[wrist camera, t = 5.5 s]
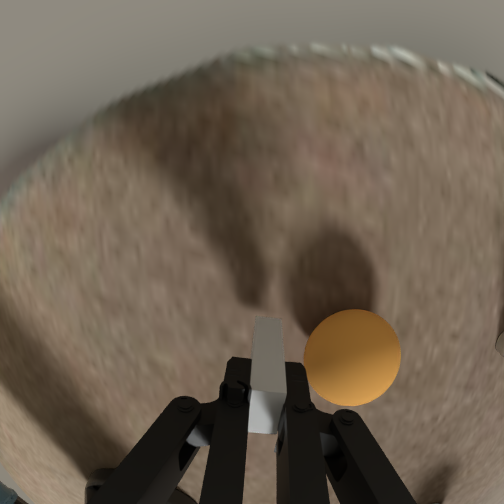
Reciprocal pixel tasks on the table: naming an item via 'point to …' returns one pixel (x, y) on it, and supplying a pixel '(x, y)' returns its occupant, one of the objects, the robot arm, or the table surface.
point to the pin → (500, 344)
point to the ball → (352, 357)
